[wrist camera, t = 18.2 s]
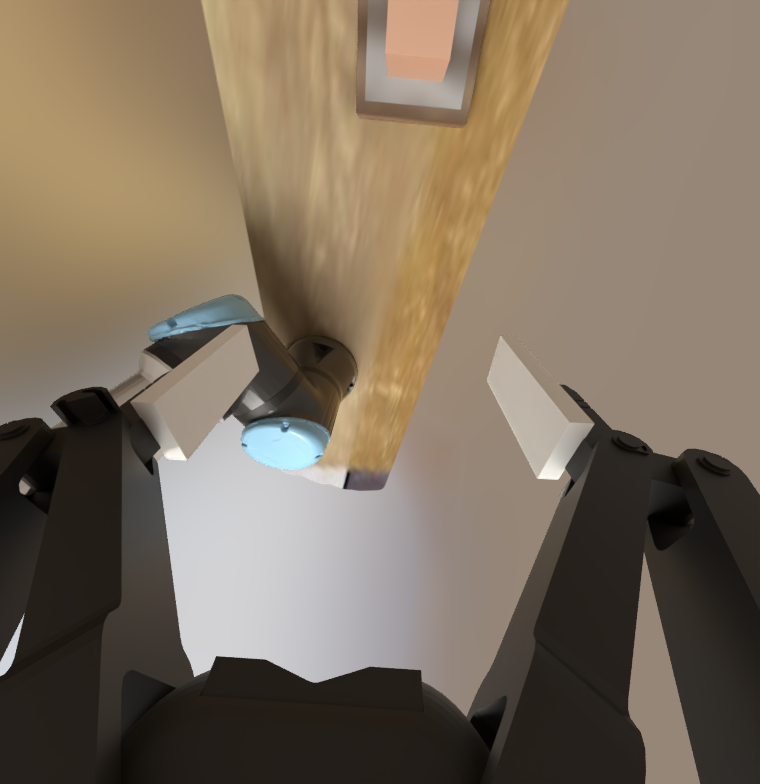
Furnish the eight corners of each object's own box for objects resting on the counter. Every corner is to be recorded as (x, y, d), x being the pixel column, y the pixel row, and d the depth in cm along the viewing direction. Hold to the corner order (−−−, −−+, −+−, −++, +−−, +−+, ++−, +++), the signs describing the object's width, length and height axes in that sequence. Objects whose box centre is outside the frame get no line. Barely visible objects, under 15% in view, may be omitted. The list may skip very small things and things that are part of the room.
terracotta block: (442, 81, 29) (450, 59, 25) (388, 76, 30) (385, 53, 25) (455, -11, 26) (467, -58, 21) (394, -16, 26) (391, -65, 21)
